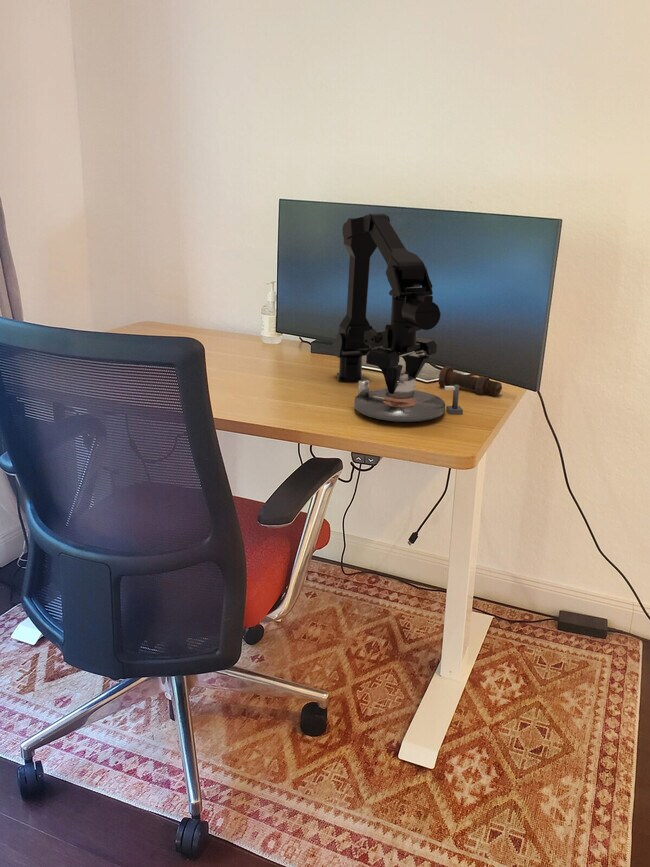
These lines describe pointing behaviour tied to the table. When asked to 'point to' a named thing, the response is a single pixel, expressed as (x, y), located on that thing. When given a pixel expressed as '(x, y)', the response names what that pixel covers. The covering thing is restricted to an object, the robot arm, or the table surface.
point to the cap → (403, 387)
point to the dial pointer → (454, 400)
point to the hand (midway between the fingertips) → (400, 390)
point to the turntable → (397, 405)
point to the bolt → (468, 382)
